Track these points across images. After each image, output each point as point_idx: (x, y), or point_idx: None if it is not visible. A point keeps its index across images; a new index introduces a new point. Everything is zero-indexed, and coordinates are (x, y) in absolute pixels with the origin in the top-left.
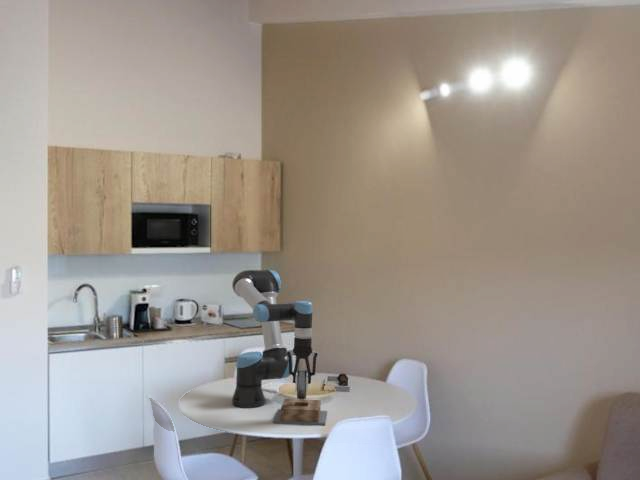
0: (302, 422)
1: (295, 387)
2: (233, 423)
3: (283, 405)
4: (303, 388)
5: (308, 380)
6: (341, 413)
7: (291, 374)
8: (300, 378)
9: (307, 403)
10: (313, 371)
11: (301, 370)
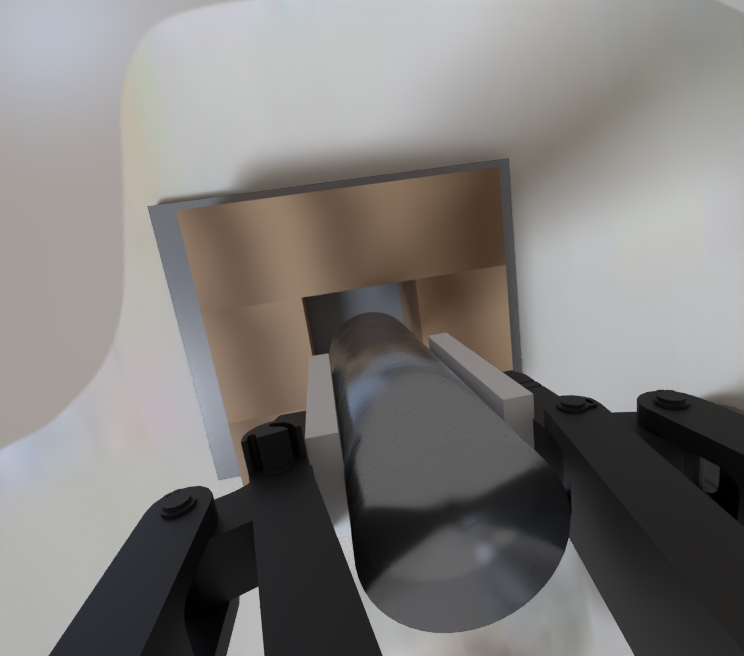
0: (312, 184)
1: (459, 342)
2: (725, 89)
3: (494, 264)
4: (358, 347)
5: (304, 431)
6: (129, 496)
7: (625, 414)
8: (432, 377)
9: None
10: (160, 548)
11: (480, 526)
